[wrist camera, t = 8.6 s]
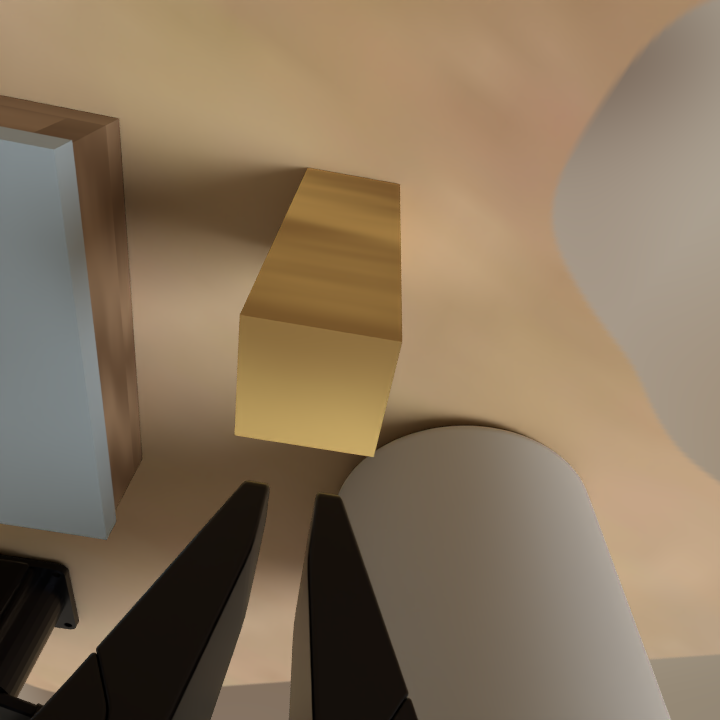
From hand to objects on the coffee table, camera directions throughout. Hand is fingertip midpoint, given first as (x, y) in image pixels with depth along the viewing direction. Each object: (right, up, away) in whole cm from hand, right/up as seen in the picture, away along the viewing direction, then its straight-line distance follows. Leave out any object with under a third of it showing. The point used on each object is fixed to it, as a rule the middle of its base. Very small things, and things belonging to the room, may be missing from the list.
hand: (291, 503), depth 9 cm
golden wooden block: (+1, +7, +11) cm, 13 cm away
